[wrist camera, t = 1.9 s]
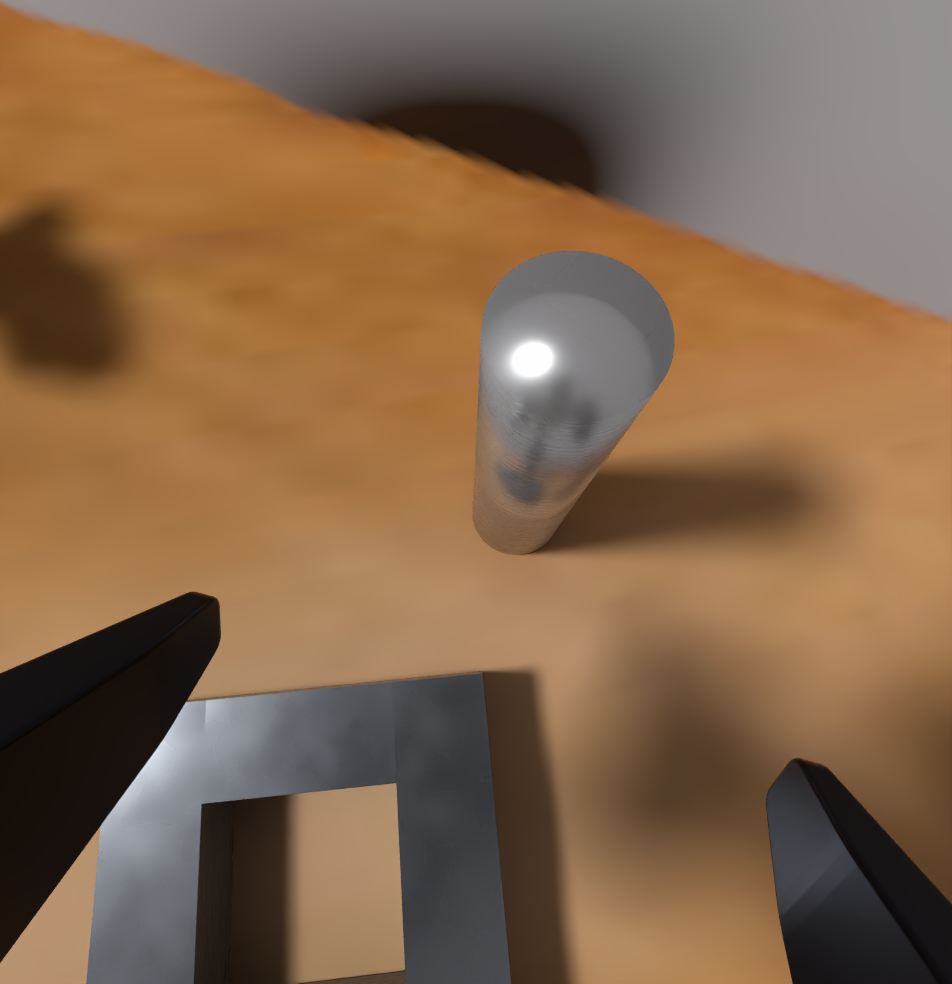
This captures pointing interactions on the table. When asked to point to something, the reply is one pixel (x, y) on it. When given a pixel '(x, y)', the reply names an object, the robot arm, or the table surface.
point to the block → (300, 769)
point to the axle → (559, 387)
